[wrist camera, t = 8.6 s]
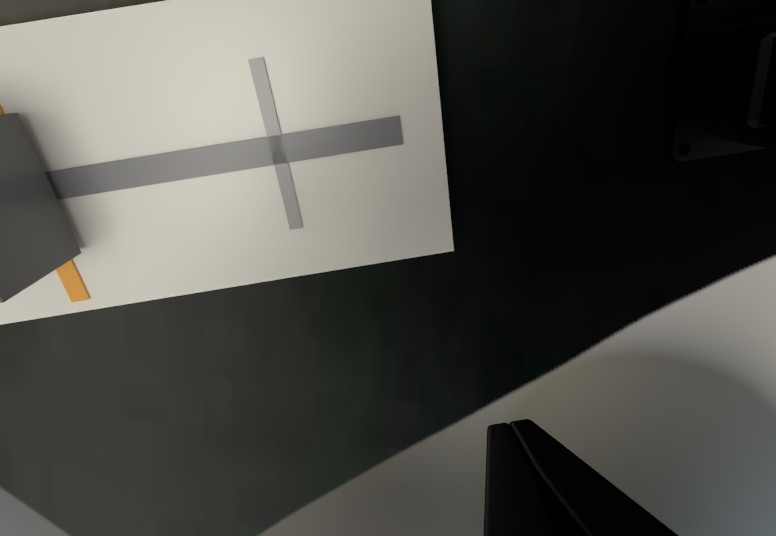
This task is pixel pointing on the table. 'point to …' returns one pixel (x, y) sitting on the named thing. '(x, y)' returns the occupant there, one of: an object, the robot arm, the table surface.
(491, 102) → the table surface
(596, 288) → the table surface
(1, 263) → the fader
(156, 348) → the table surface
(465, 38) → the table surface
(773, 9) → the robot arm
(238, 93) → the slider track board
